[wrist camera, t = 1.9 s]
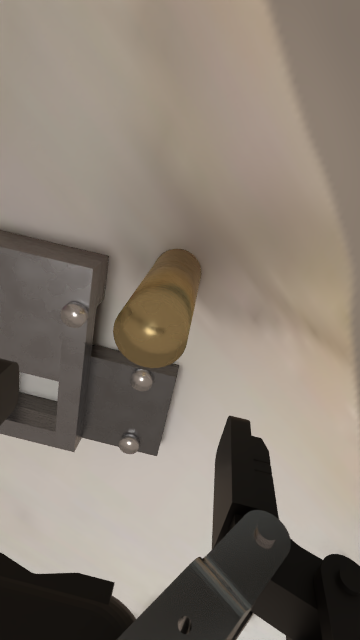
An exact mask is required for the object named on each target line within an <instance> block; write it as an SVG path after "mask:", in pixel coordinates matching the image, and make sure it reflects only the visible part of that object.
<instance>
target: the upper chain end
mask: <svg viewBox="0 0 360 640" xmlns="http://www.w3.org/2000/svg"><path fill="white" fill-rule="evenodd" d="M108 261H109V256H107V255H102V254H98V253H94V252H90V251H86V250H81V249H77V248H73V247H69V246H65V245H60V244H56V243H52V242H48V241H44V240H39V239H35V238H31V237H27V236H23V235H18V234H14V233H10V232H6V231H2V230H0V358H1V359H5V360H9V361H14V362H17V363H18V365H19V372H23V373H27V374H31V375H35V376H39V377H43V378H47V379H51V380H55V381H59V388H58V403H57V416H54V415H50V414H46V413H42V412H38V411H34V410H30V409H26V408H22V407H18V406H16V407H15V409H14V410H13V412H12V413H11V414H10V415H9V416H8V417H7V419H6V420H5V421H4V422H3V423H2V424H1V426H0V434H4V435H8V436H12V437H16V438H20V439H24V440H28V441H32V442H36V443H40V444H44V445H48V446H52V447H56V448H60V449H64V450H68V451H72V452H74V451H75V450H76V448H77V446H78V444H79V442H80V440H81V438H82V432H83V423H84V414H85V405H86V396H87V387H88V378H89V369H90V360H91V351H92V343H93V334H94V325H95V316H96V307H97V306H98V305H99V304H100V303H101V302H102V300H103V299H104V294H105V286H106V278H107V270H108Z"/></svg>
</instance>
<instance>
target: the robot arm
mask: <svg viewBox="0 0 360 640" xmlns="http://www.w3.org/2000/svg"><path fill="white" fill-rule="evenodd" d="M18 398H19V365H18V363H17V362H14V361H9V360H5V359H1V358H0V426H1V424H2V423H3V422H4V421H5V420H6V419H7V417H8V416H9V415H10V414H11V413H12V412H13V410H14V409H15V407H16V405H17V402H18ZM113 587H114V582H110V581H107V580H103V579H99V578H95V577H91V576H88V575H84V574H80V573H57V574H34V573H32V572H30V571H28V570H27V569H25V568H24V567H22V566H21V565H19V564H18V563H16V562H14V561H13V560H11V559H10V558H8V557H7V556H5V555H4V554H2V553H0V640H236V639H237V638H238V636H239V635H240V633H241V632H242V631H243V629H244V628H245V626H246V625H247V623H248V622H249V620H250V619H251V617H252V616H253V614H256V615H257V616H258V617H260V618H261V619H263V620H264V621H266V622H267V623H269V624H270V625H272V626H273V627H275V628H276V629H277V630H279V631H280V632H282V633H283V634H285V635H286V640H360V566H359V565H358V564H357V563H355V562H354V561H353V560H351V559H349V558H348V557H345V556H343V555H339V554H331V555H328V556H326V557H325V558H324V560H322V559H320V558H318V557H317V556H315V555H313V554H312V553H310V552H308V551H306V550H305V549H303V548H301V547H300V546H298V545H297V544H296V543H295V542H294V541H293V540H292V539H291V538H290V536H289V533H288V531H287V529H286V528H285V526H284V525H283V523H282V522H281V521H280V520H279V517H278V511H277V504H276V498H275V491H274V484H273V477H272V471H271V466H270V457H269V451H268V449H267V447H266V445H265V444H264V442H263V440H262V439H261V438H258V437H254V436H251V427H250V421H249V420H246V419H242V418H237V417H233V416H229V417H228V419H227V422H226V425H225V428H224V431H223V434H222V436H221V439H220V442H219V445H218V449H217V453H216V459H215V479H214V505H213V532H212V550H211V551H210V552H209V553H208V554H207V556H205V557H204V558H203V559H202V558H201V557H198V558H196V559H195V560H194V561H193V562H192V563H191V564H190V565H189V566H188V567H187V568H186V569H185V570H184V571H183V572H182V573H181V574H180V575H179V576H178V577H177V578H176V579H175V580H174V581H173V582H172V583H171V584H170V585H169V586H168V587H167V588H166V589H165V590H164V591H163V592H162V593H161V594H160V595H159V597H158V598H157V599H156V600H155V601H154V602H153V603H152V604H151V605H150V606H149V607H148V608H147V609H146V610H145V611H144V612H143V613H142V614H141V615H140V616H139V617H138V618H137V619H136V618H135V617H134V615H133V614H132V613H131V612H130V610H129V609H128V608H127V607H126V606H125V605H124V604H123V603H122V602H120V601H119V600H118V599H116V598H115V597H113V596H112V592H113Z"/></svg>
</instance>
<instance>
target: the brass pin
mask: <svg viewBox="0 0 360 640" xmlns="http://www.w3.org/2000/svg"><path fill="white" fill-rule="evenodd" d="M200 278H201V267H200V264H199V262H198V260H197V259H196V257H195V256H194V255H192V254H191V253H190V252H188V251H186V250H182V249H172V250H168V251H166V252H164V253H163V254H162V255H161V256H160V257H159V258H158V259H157V261H156V262H155V264H154V265H153V267H152V268H151V269H150V271H149V272H148V274H147V275H146V276H145V278H144V279H143V281H142V282H141V284H140V285H139V286H138V288H137V289H136V291H135V292H134V293H133V295H132V296H131V298H130V299H129V301H128V302H127V303H126V305H125V306H124V308H123V309H122V310H121V312H120V313H119V315H118V316H117V318H116V320H115V323H114V329H113V334H114V340H115V343H116V345H117V347H118V349H119V350H120V352H121V353H122V354H123V355H124V356H125V357H126V358H127V359H128V360H130V361H131V362H133V363H135V364H137V365H139V366H143V367H147V368H160V367H164V366H167V365H170V364H172V363H173V362H175V361H176V360H177V359H178V358H179V357H180V356H181V355H182V354H183V352H184V350H185V347H186V344H187V339H188V335H189V330H190V325H191V321H192V316H193V311H194V306H195V302H196V297H197V292H198V287H199V283H200Z"/></svg>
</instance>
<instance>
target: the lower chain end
mask: <svg viewBox="0 0 360 640" xmlns="http://www.w3.org/2000/svg"><path fill="white" fill-rule="evenodd" d="M178 368H179V366H178V365H174V364H170V365H167V366H164V367H160V368H147V367H143V366H139V365H137V364H135V363H133V362H131V361H130V360H128V359H127V358H126V357H125V356H124V355H123V354H122V353H121V352H120V351H117V350H113V349H109V348H105V347H100V346H96V345H92V351H91V360H90V369H89V378H88V387H87V396H86V405H85V414H84V423H83V432H82V438H86V439H90V440H94V441H98V442H102V443H106V444H110V445H114V446H118V447H119V448H120V449H121V450H122V451H123V452H124V453H127V454H134V453H136V452H137V451H138V452H142V453H146V454H150V455H154V456H157V454H158V450H159V446H160V442H161V438H162V434H163V430H164V426H165V422H166V417H167V413H168V409H169V405H170V401H171V397H172V393H173V389H174V385H175V381H176V377H177V372H178ZM57 403H58V402H56V401H52V400H48V399H44V398H40V397H36V396H32V395H28V394H24V393H20V392H19V398H18V402H17V405H16V406H18V407H22V408H26V409H30V410H34V411H38V412H42V413H46V414H50V415H54V416H57Z"/></svg>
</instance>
